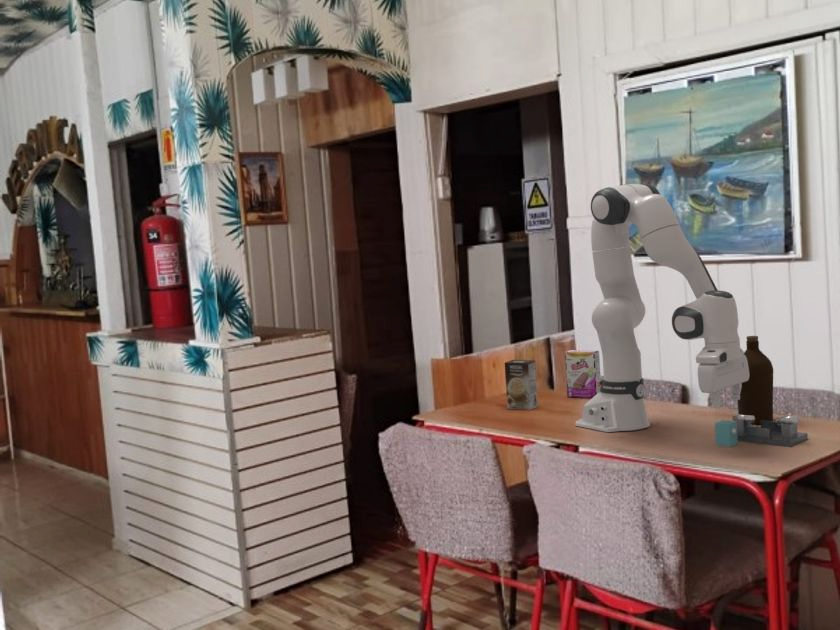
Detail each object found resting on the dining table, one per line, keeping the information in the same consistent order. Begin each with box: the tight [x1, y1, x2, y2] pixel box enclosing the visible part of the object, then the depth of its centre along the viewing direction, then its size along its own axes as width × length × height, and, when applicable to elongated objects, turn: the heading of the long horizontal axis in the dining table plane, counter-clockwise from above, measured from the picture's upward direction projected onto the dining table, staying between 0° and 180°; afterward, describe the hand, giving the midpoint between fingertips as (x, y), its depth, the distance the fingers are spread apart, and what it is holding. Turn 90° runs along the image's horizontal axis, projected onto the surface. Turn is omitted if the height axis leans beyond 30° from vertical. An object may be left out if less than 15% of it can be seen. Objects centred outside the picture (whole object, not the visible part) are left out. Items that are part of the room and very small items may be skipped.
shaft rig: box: [732, 413, 808, 448], centre depth 252 cm, size 18×10×7 cm, turn 43°
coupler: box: [714, 419, 739, 448], centre depth 250 cm, size 5×4×6 cm
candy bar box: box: [564, 349, 602, 399], centre depth 330 cm, size 11×5×16 cm, turn 59°
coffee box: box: [504, 359, 539, 411], centre depth 319 cm, size 9×6×16 cm
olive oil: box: [736, 335, 774, 426], centre depth 272 cm, size 11×11×25 cm
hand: (726, 403), depth 249 cm, fingers open, 8 cm apart
